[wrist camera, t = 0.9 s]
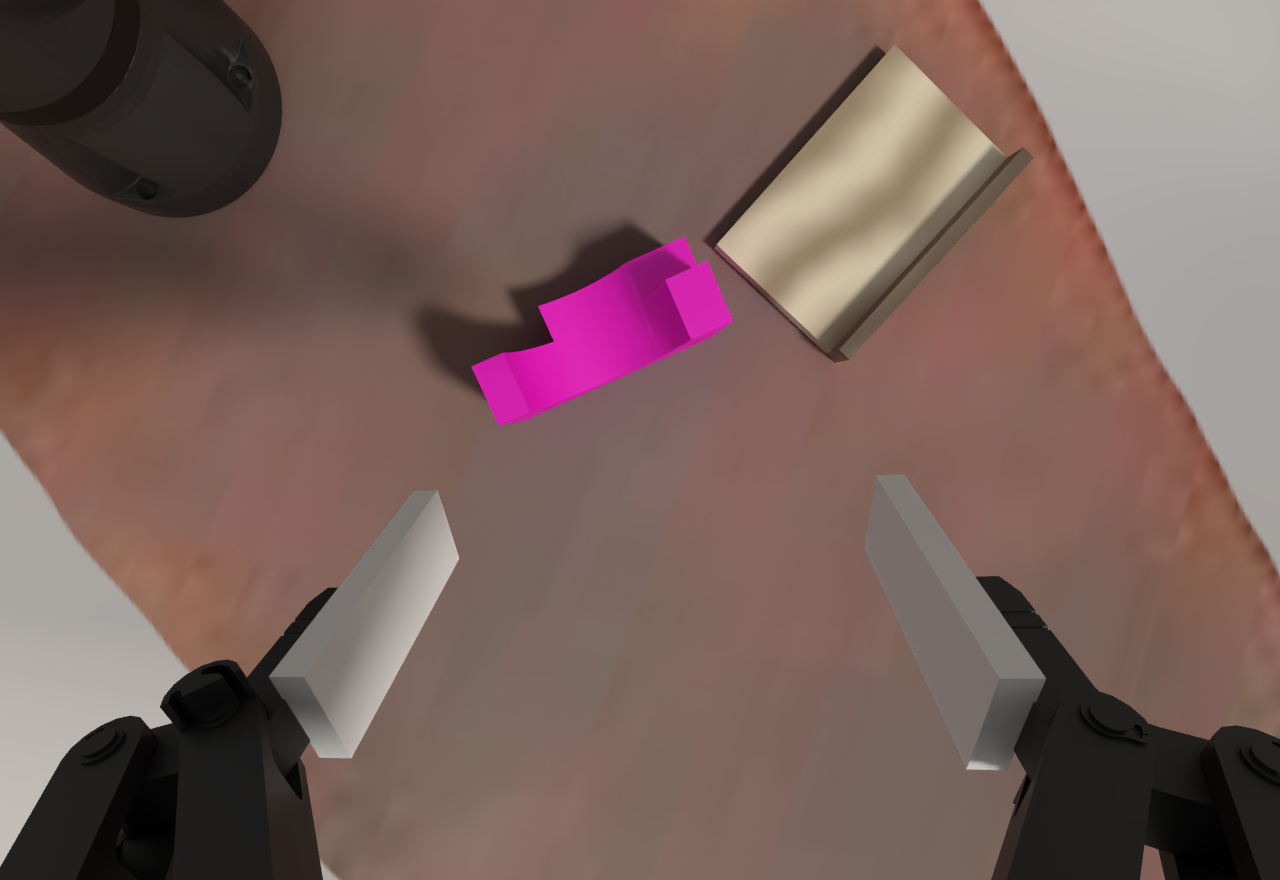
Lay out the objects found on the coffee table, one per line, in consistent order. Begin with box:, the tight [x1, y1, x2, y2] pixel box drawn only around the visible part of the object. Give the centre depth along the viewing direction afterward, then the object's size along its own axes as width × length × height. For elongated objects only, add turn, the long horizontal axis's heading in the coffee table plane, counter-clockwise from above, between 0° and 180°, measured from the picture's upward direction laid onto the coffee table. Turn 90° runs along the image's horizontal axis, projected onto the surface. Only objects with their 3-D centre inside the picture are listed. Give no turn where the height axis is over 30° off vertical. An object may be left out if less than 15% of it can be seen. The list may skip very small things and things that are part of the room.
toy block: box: [472, 236, 733, 426], centre depth 34 cm, size 15×6×8 cm, turn 114°
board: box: [714, 45, 1033, 362], centre depth 36 cm, size 12×18×2 cm, turn 138°
